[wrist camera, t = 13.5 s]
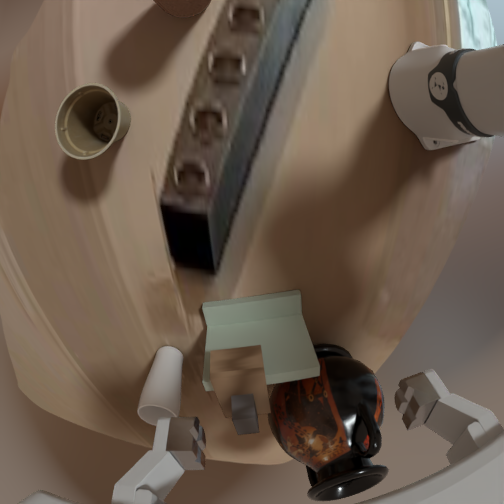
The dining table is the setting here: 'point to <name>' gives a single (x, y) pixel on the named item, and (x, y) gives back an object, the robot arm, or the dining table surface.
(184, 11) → the coffee cup
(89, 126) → the flower pot
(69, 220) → the dining table surface
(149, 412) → the drinking glass
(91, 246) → the dining table surface
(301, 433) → the amphora vase
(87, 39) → the dining table surface
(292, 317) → the board
